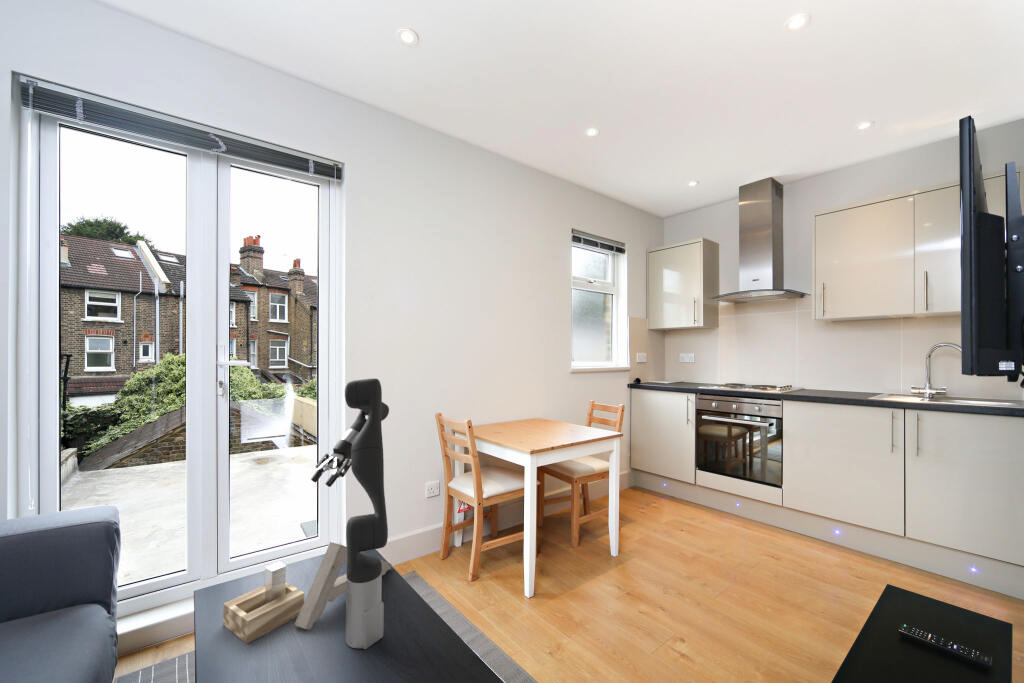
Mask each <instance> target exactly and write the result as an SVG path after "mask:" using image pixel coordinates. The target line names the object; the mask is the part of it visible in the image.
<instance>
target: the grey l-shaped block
mask: <svg viewBox="0 0 1024 683" xmlns="http://www.w3.org/2000/svg"><path fill="white" fill-rule="evenodd" d="M286 577H287V565H286V564H284V563H283V562H281V561H278V562H275V563H272V564H270V565H268V566H265V576H264V578H265V579H264V580H265V581H264V582H265V584H264V585H265V605H266V604H268V603H270V602H272V601H274V600H276V599H278V598H280V597H282V596H284V595H285V593H286V580H287V578H286Z"/></svg>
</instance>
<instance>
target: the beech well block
mask: <svg viewBox="0 0 1024 683" xmlns="http://www.w3.org/2000/svg"><path fill="white" fill-rule="evenodd" d="M304 601H305V592H304V591H302V590H300V589H299V588H298V587H295V585H292V584H290V583H288V582H286V593H285V595H284V596H282V597H280V598H278V599H276V600H274V601H272V602H270V603H268V604H266V605H265V584H264V585H262V586H259V587H257V588H255V589H253V590H251V591H248V592H246V593H244V594H242V595H240V596H238V597H235V598H233V599H231V600H229V601H227V602H223V612H222V613H223V616H222V625H223V626H224V627H225V628H226V629H228V630H229V631H230V632H231V633H233V634H234V635H235V636H236V637H238V638H239V639H241V640H242V641H244V643H246V644H249V643H250V642H252V641H255V640H256V639H258V638H260V637H262V636H264V635H266V634H267V633H270V632H271V631H273V630H275V629H277V628H279V627H280V626H282V625H284V624H285V623H288V622H290V621H292V619H293V620H294V619H296V618H297V617H298V615H299V613H300V611H301V608H302V606H303V604H304Z"/></svg>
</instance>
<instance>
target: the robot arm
mask: <svg viewBox="0 0 1024 683" xmlns="http://www.w3.org/2000/svg"><path fill="white" fill-rule="evenodd" d="M382 396H383V393H382V384H381V381H380V379H378V378H365V379H355V380H351V381H348V382H347V383H346V385H345V387H344V399H345V403H346V405H347V406H348V407H349V408H350V409H357V410H359V413H358V415H357V416H356V419H355V420H354V422H353V423H352V425H350V427H349V428H348V430H346V431H345V433H344V434H343V435H342V437H341V438H340V439H339V440H338V441H337V443H336V444H335V445H334V447H333V448H332V452H333V453H331V454H330V455H329V454H328V453H325V454H324V455H323V456H322V458H321V459H320V460H319V461H318V462H317V464H316V465H315V466H314V468H316V471H315V472H314V474H313V475H312V477H311V479H310V480H311V481H312V482H313V483H317V482H318V481H319V479H320V478H321V477H322V476H323V474H324V473H325V472H326V471H330V470H333V471H332V474H330V477H328V479H327V481H325V483H324V484H325V486H327V487H329V488H331V487H332V486H333V485H334V483H336V481H337V480H338V479H339V478H340V477H341V478H344V477H345V476H346V474H347V472H348V471H349V469H351V472H352V475H353V476H354V477H355V479H356V481H357V482H358V483H359V484H360V485H361V487H362V489H364V491H365V492H366V495H367V496H368V498H369V499H370V502H371V504H372V507H373V511H374V513H369V514H362V515H355V516H351V517H349V519H348V520H347V522H346V526H345V528H346V531H345V538H346V539H345V541H346V542H345V543H346V547H347V564H346V574H347V584H346V591H345V593H346V594H345V596H346V597H345V605H346V606H345V642H346V645H347V646H348V647H350V648H352V649H353V648H354V649H363V650H367V649H368V648H370V647H371V646H372V645H374V644H375V643H377V642H378V641H380V640H381V639H383V637H384V615H385V614H384V613H385V609H384V608H385V604H384V601H382V589H383V588H382V586H383V585H382V581H383V580H382V578H383V577H382V576H383V575H382V563H381V561H380V560H381V559H380V560H379V558H378V557H376V556H373V555H369V556H368V554H367V555H365V554H366V553H364V554H362V553H363V552H367V551H368V552H369V551H371V550H373V551H374V550H378V549H382V548H385V547H386V545H387V542H388V539H389V538H388V537H389V536H388V535H389V529H388V517H387V507H386V506H387V505H386V497H385V494H386V493H385V477H384V476H385V475H384V473H385V471H384V468H385V465H384V462H385V461H384V459H385V458H384V445H383V433H382V432H383V430H382V422H383V421H384V420H385V419H386V418H388V416H389V412H390V407H389V405H387V404H386V403H385V402H383V400H382V399H383V398H382ZM366 417H367V418H366Z"/></svg>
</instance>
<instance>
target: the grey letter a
mask: <svg viewBox="0 0 1024 683" xmlns="http://www.w3.org/2000/svg"><path fill="white" fill-rule="evenodd" d="M361 553H362V554H365V555H368V554H367V553H363V552H361ZM368 556H370V555H368ZM378 559H379V558H378ZM379 560H380V561H381V563H382V576H384V575H385V574H386V573H387V572H388V571H390V570H391V567H392V565H393V564H392V563H390V562H387V561H385V560H383V559H379ZM343 564H346V565H347V545H342V544H339V543H336V542H331V541H330V542H329V544H328V547H327V549H326V551H325V554H324V556H323V559H322V561H321V563H320V565H319V567H318V570H317V572H316V574H315V576H314V579H313V582H312V583H311V586H310V588H309V590H308V592H307V594H306V597H305V598H304V604H303V606H302V608H301V611H300V613H299V615H298V616H297V617H296V620H295V623H294V624H293V625H294V626H295V627H298V628H300V629H303V630H309V631H310V630H312V628H313V625H314V623H315V621H316V622H317V621H318V620H319V619H320V618H321V617H322V615H323V613H324V610H325V608H326V607H327V606H326V605H327V603H328V602H329V603H331V602H332V603H333V601H334V600H336V599H337V598H339V596H340V595H342V594H343V593H344V592H346V584H347V573H344V574H343V575H340V576H339V574H340V572H341V569H342V566H343ZM388 564H389V565H390V566H391V567H390V566H389V565H388Z"/></svg>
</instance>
